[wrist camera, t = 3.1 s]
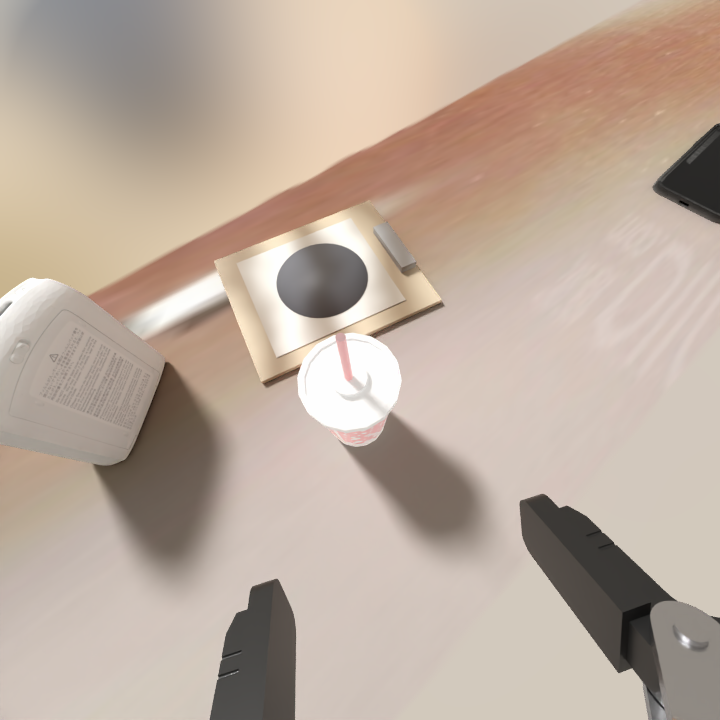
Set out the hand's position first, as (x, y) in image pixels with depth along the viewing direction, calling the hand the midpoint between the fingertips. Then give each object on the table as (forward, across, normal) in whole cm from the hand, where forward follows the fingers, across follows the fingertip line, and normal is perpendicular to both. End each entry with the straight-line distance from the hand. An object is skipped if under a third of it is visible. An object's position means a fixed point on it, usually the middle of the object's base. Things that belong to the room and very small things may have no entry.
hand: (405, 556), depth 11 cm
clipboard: (+27, 0, -6) cm, 28 cm away
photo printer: (+22, +18, 0) cm, 29 cm away
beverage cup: (+17, 0, +4) cm, 17 cm away
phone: (+28, -46, -6) cm, 54 cm away
